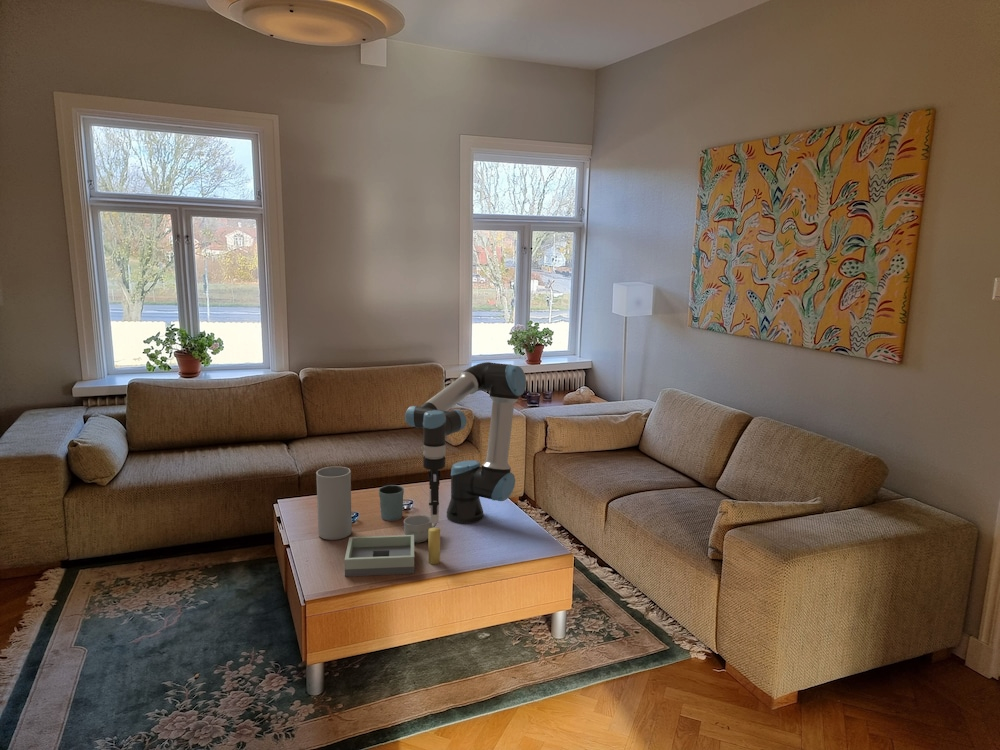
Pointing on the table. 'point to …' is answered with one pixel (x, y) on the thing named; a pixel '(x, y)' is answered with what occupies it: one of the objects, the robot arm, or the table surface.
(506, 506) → the table surface
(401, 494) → the grey-green cup
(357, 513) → the table surface
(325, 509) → the cylinder vase
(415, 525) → the teacup
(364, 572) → the box
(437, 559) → the peg
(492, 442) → the robot arm
